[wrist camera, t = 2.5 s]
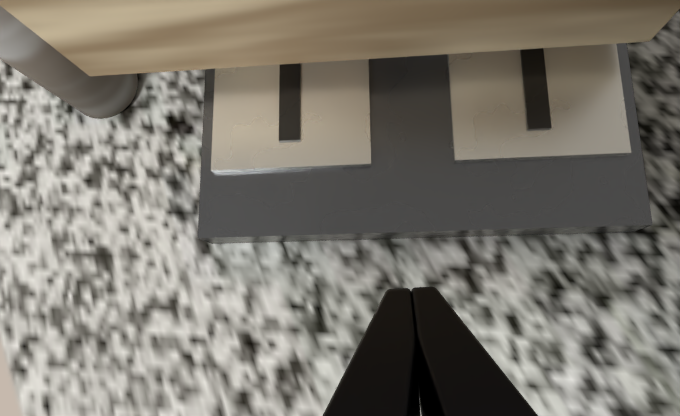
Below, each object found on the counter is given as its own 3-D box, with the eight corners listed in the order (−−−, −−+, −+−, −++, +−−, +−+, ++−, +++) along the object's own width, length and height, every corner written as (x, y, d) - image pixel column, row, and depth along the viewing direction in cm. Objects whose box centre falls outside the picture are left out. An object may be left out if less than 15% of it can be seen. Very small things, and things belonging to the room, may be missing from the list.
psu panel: (632, 232, 19) (658, 222, 17) (211, 243, 20) (193, 236, 19) (594, -52, 21) (614, -88, 20) (222, -22, 23) (207, -52, 21)
